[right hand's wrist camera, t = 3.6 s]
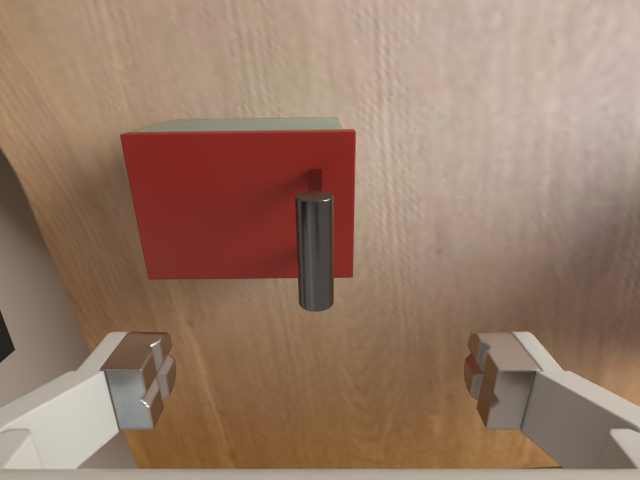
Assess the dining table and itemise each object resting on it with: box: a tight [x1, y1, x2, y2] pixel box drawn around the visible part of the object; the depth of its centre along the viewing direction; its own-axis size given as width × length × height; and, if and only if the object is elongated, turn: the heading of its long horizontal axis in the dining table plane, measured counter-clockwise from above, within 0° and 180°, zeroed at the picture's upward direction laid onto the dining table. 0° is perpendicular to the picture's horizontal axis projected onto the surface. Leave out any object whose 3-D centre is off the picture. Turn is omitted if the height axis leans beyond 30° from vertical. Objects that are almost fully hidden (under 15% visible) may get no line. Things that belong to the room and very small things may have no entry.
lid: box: [120, 129, 356, 311], centre depth 22 cm, size 14×10×8 cm
